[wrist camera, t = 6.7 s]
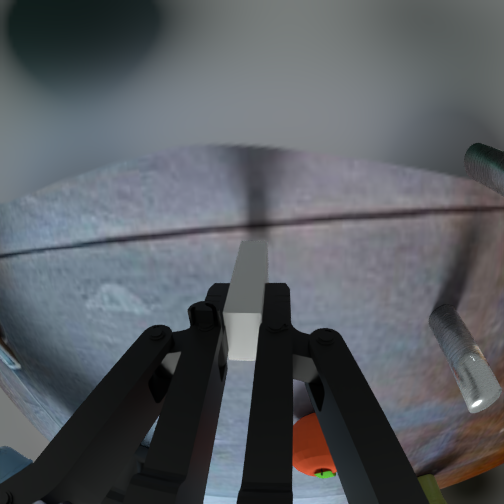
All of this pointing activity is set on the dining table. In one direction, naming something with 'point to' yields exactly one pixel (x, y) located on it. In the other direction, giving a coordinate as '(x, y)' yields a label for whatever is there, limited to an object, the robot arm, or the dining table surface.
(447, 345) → the post
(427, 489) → the plant pot
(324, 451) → the clementine
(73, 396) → the dining table surface
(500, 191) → the post
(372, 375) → the dining table surface
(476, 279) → the dining table surface
